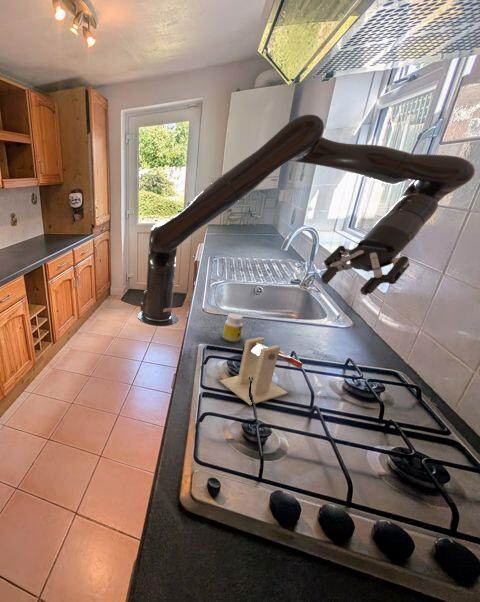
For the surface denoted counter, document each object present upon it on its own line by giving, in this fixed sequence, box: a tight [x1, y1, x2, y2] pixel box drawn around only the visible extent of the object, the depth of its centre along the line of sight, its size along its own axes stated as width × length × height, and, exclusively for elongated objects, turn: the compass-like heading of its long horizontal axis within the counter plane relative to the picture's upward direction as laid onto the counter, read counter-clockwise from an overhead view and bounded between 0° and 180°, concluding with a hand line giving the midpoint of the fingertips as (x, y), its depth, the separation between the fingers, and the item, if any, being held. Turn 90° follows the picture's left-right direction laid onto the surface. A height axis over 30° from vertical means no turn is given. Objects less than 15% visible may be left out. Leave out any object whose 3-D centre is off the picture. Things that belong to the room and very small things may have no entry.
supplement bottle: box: [222, 313, 244, 343], centre depth 91 cm, size 5×5×8 cm
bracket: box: [219, 336, 288, 406], centre depth 69 cm, size 11×9×13 cm
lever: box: [251, 343, 303, 369], centre depth 69 cm, size 13×6×2 cm, turn 109°
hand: (342, 287), depth 72 cm, fingers open, 8 cm apart
